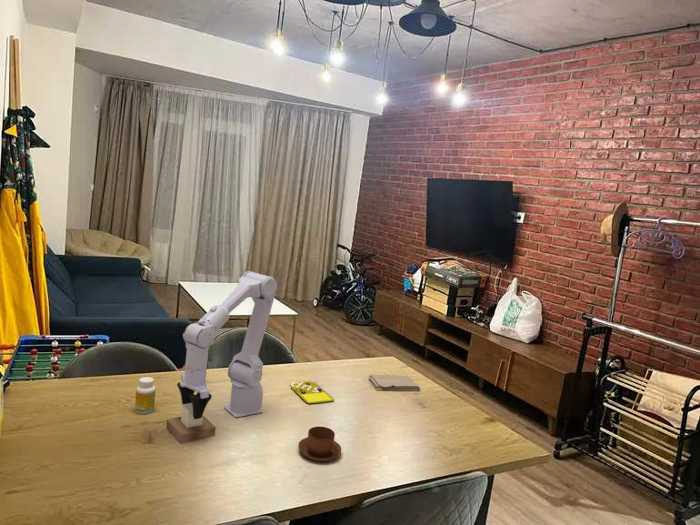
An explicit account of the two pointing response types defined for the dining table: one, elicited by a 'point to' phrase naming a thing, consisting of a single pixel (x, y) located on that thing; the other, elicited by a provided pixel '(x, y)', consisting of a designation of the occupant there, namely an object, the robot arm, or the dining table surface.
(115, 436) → the dining table surface
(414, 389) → the washcloth
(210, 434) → the walnut block
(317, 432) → the cup and saucer
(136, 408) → the supplement bottle
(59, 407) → the dining table surface
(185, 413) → the white block
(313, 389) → the game console
